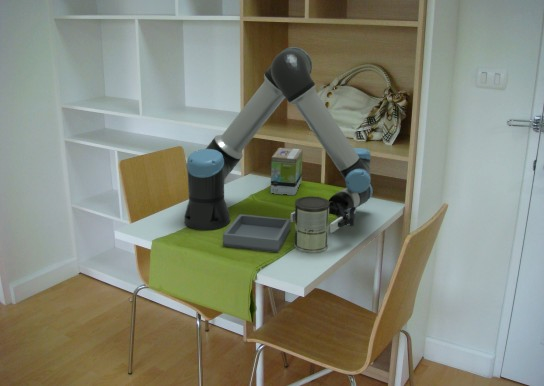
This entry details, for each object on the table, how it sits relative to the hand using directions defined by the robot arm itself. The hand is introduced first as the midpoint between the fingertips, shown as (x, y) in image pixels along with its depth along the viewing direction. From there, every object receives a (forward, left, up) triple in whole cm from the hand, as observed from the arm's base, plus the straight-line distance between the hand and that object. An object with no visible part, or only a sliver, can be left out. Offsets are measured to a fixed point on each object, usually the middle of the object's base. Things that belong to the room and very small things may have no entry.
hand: (311, 222), depth 167 cm
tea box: (-19, +51, -8) cm, 55 cm away
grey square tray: (-17, +2, -8) cm, 19 cm away
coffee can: (0, +1, -8) cm, 8 cm away
